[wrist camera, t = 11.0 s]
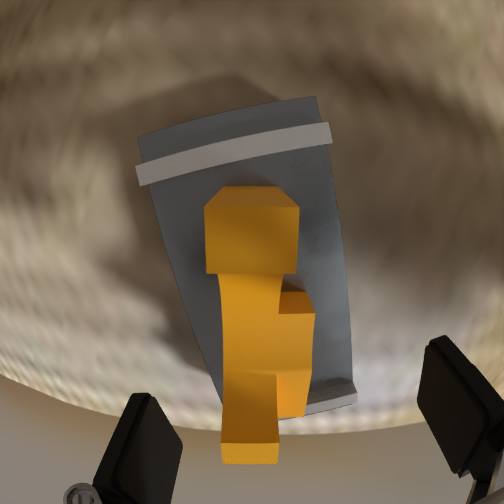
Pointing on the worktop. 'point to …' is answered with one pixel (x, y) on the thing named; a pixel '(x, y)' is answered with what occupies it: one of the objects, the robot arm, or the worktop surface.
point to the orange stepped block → (258, 318)
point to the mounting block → (256, 174)
